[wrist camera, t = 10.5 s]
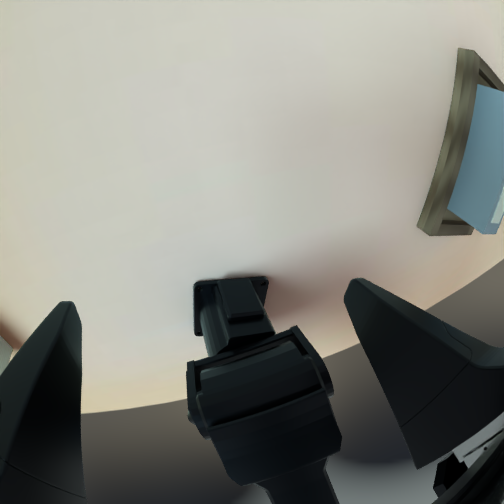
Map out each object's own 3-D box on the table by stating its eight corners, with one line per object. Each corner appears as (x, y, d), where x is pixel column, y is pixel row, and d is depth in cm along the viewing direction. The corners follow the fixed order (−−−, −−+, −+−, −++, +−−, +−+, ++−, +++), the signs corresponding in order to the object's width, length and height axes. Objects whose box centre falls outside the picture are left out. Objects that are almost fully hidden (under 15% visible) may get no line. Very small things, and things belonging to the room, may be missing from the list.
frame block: (491, 99, 19) (530, 114, 14) (463, 210, 28) (496, 234, 23) (476, 83, 18) (520, 98, 13) (446, 208, 26) (483, 234, 21)
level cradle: (460, 227, 31) (471, 235, 29) (416, 226, 27) (429, 236, 26) (497, 88, 20) (509, 92, 18) (458, 47, 16) (474, 50, 14)
